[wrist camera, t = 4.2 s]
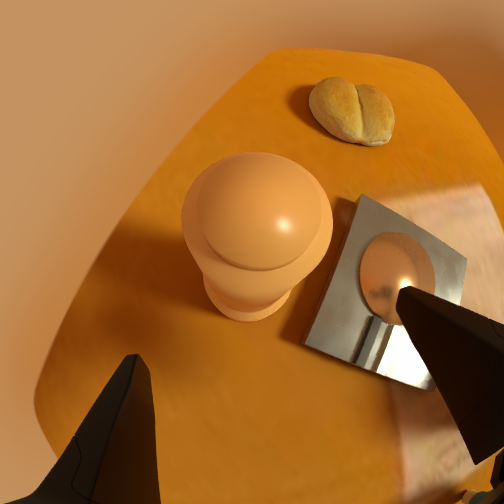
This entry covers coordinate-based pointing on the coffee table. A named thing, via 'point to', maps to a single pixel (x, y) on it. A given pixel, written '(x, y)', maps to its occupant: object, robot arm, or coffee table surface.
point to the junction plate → (381, 292)
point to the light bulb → (475, 496)
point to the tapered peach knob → (255, 231)
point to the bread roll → (352, 111)
